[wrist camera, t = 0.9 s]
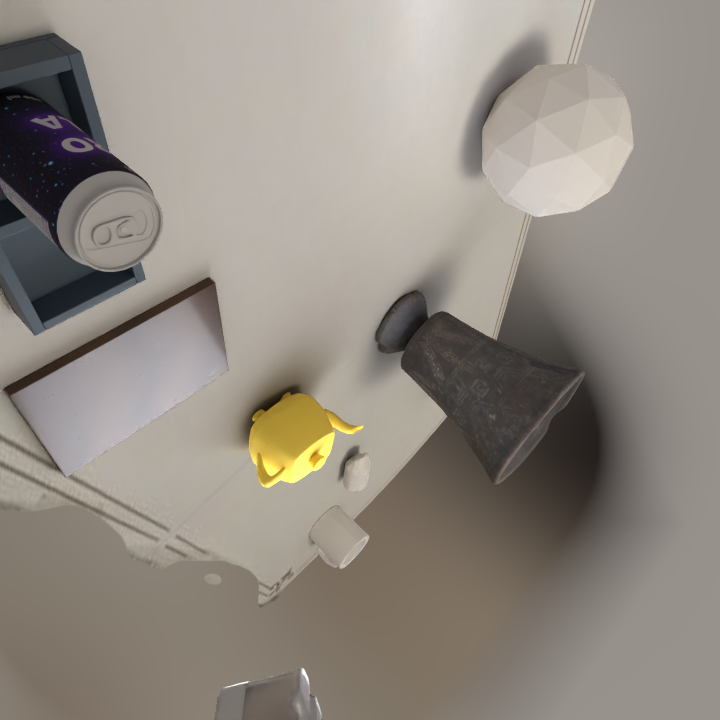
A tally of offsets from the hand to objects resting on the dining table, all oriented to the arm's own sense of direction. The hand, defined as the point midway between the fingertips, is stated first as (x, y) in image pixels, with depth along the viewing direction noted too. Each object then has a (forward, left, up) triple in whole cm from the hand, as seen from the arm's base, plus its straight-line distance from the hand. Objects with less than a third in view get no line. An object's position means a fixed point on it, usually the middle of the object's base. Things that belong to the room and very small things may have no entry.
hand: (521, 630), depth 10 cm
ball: (+67, -27, -38) cm, 81 cm away
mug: (+37, -123, -38) cm, 133 cm away
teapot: (+24, -60, -38) cm, 74 cm away
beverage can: (+5, -8, -37) cm, 38 cm away
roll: (+44, -99, -38) cm, 114 cm away
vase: (+52, -60, -38) cm, 87 cm away
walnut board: (+7, -35, -38) cm, 51 cm away
